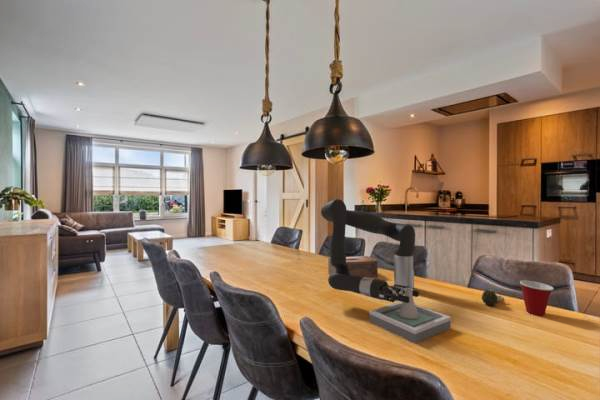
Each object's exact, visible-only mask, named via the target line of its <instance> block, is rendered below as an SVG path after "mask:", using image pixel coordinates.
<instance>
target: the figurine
mask: <svg viewBox="0 0 600 400" xmlns="http://www.w3.org/2000/svg"><path fill="white" fill-rule="evenodd" d="M481 300H482V302H483V303H484V304H485V305H487V306H489V307H490V306H491V307H492V306H494V305H496V304H497V303H498V302H503V301H504V302H505V297H504V296H501V295H498V294H496V292H494V291H493V290H492V289H490V290H488V289H486V290H484V291H483V292H482V295H481Z"/></svg>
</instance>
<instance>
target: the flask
mask: <svg viewBox="0 0 600 400" xmlns="http://www.w3.org/2000/svg"><path fill="white" fill-rule="evenodd" d="M413 290H414V288H413V289H412V288H404V291H405V295H404V296H409V303H405V302H403V303H402V306H401V309H400V311H399V314H398V315H399V316H401V317H402V318H406V319H418V317H419V315H418V312H417V309H416V306H415V305H416V304H415V301H414V296H412V291H413Z"/></svg>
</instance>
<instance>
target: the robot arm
mask: <svg viewBox="0 0 600 400" xmlns="http://www.w3.org/2000/svg"><path fill="white" fill-rule="evenodd" d="M320 214H321V216H322V217H323V219H324V220H325V221H328V222H331V223H332V234H331V238H330V239H331V240H330V243H329V258H330V262H331V265H332V266H334V267H335V269H336V272H335V273H332V274H331V275H330V274H329V276H328V278H327V280H328V281H327V282H328V284H329V287H331V288H332V289H334V290H336V291H337V290H338V291H344V292H352V293H354V294H355V293H356V294H358V295H363V296H365V297H368V298H373V299H377V300H381V301H386V302H390V303H396V302H405V303H409V296H405V291H404V288H412V289H413V291H412V296H413V298H414V297H415V298H418V297H419V294H420V293H419V291H418V290H416V289H414V288H415V270H414V252H415V248H416V231H415V228H414V227H413V226H412V225H411V224H406V223H398V222H392V221H387V220H385V219H384V218H383V217H381V216H379V214H378V215H377V214H376V213H371V212H369V211H365V210H364V211H363V210H362V211H361V210H349V209H347V206H346V204H345V202H344V201H343V200H341V199H340V198H337V199H336V198H335V199H332V200H331V201H329V202H326V203H325V204H324V205H322V207H321V209H320ZM346 225H347V226H349V227H353V228H355V229H358V230H362V231H364V232H366V233H367V232H368V233H371V234H372V233H373V234H376V235H383V236H385V237H387V238H389V239H392V240H394V241H397V242H399V247H395V248H394V250H393V285H389V284H388V282H387V280H384V279H380V278H379V279H378V278H376V277H371V278H369V277H361V276H350V272H349V269H348V266H347V263H346V257H347V256H346V255H347V254H346Z"/></svg>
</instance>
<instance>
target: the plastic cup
mask: <svg viewBox="0 0 600 400" xmlns="http://www.w3.org/2000/svg"><path fill="white" fill-rule="evenodd" d="M519 283H520V287H521V290H522V296H523V301H524V306H525V311H526V313H527V312H528V313H527V314H529V313H530V314H529V315H532V314H533V315H532V316H536V315H538V317H545V315H546V311H547V307H548V303H549V300H550V296H551V293H552V291H554V287H553V286H552V285H549V284H546V283H543V282H538V281H533V280H532V281H531V280H520V281H519Z"/></svg>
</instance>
